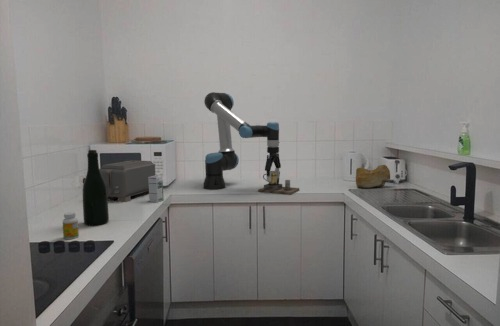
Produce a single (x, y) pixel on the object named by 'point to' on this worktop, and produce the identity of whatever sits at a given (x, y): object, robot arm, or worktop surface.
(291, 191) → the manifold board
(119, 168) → the toaster
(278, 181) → the coffee mug
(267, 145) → the robot arm
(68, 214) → the supplement bottle
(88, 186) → the dark green wine bottle
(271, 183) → the gold tall rounded piece
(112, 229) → the worktop surface
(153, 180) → the syrup box
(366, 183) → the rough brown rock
